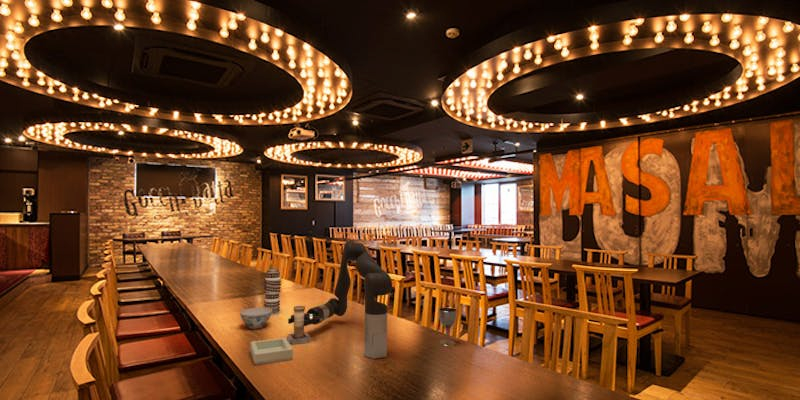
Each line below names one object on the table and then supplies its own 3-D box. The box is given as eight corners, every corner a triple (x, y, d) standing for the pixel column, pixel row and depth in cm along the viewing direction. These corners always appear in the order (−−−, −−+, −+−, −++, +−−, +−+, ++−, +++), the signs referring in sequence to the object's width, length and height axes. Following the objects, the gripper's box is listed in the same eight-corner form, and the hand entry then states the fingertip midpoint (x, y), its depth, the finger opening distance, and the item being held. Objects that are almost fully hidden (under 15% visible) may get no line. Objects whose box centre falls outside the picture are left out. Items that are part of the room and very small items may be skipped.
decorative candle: (260, 315, 221) (261, 270, 221) (268, 311, 230) (269, 267, 230) (275, 316, 219) (276, 270, 220) (283, 312, 228) (284, 268, 229)
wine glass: (459, 343, 178) (460, 309, 179) (449, 347, 172) (449, 312, 173) (445, 339, 184) (445, 306, 184) (435, 343, 178) (435, 309, 178)
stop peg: (305, 341, 177) (306, 307, 178) (294, 343, 175) (294, 308, 176) (303, 338, 182) (303, 305, 182) (291, 339, 180) (292, 306, 180)
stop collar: (311, 342, 176) (311, 337, 177) (290, 345, 172) (290, 340, 172) (306, 336, 185) (306, 332, 185) (286, 338, 181) (286, 334, 181)
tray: (292, 359, 156) (292, 349, 156) (254, 365, 150) (254, 354, 150) (285, 346, 170) (285, 337, 170) (250, 351, 164) (250, 341, 164)
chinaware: (234, 326, 199) (234, 311, 199) (262, 320, 210) (262, 306, 210) (248, 333, 188) (249, 316, 189) (277, 326, 199) (277, 311, 200)
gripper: (306, 304, 195) (283, 312, 180) (330, 308, 189) (309, 316, 174) (305, 320, 195) (283, 329, 180) (330, 323, 189) (309, 333, 174)
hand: (296, 322), depth 177 cm, fingers open, 8 cm apart
